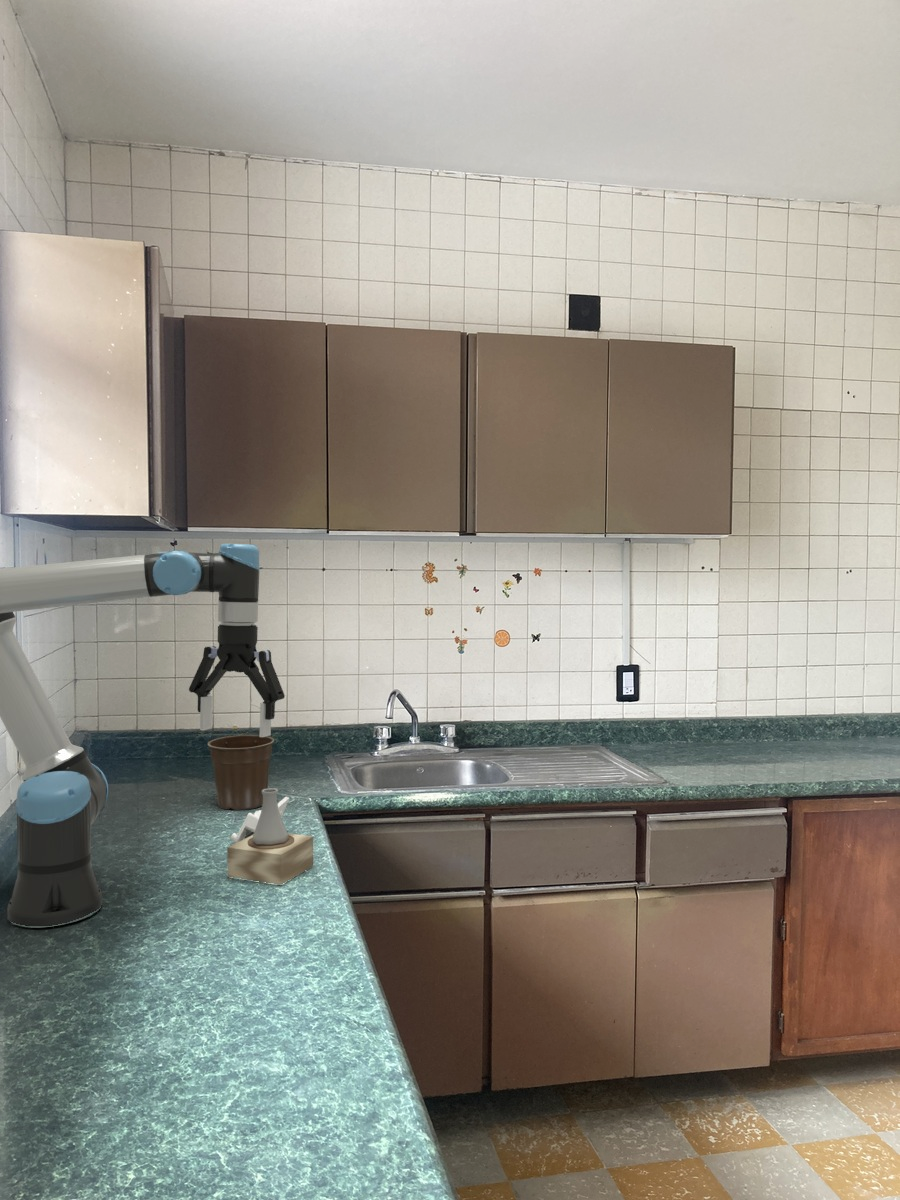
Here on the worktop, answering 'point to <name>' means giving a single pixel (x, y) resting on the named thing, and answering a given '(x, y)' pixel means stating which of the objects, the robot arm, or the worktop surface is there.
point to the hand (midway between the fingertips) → (235, 732)
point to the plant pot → (241, 770)
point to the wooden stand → (270, 859)
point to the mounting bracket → (254, 822)
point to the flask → (270, 821)
